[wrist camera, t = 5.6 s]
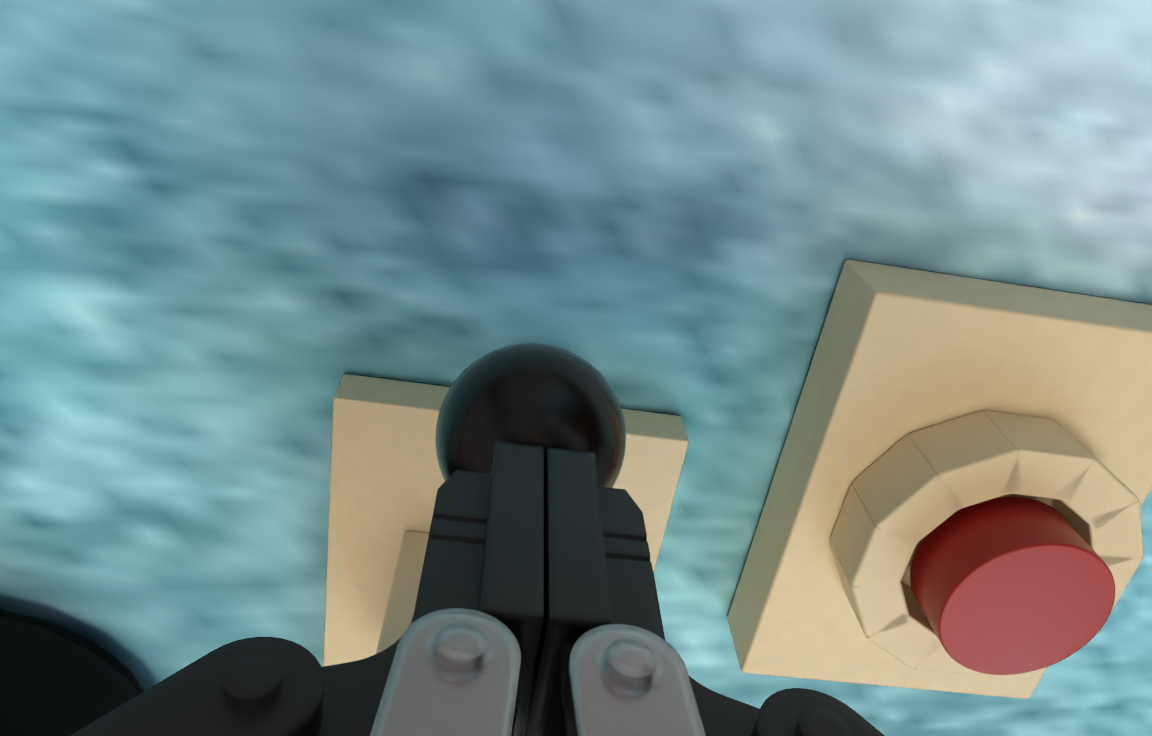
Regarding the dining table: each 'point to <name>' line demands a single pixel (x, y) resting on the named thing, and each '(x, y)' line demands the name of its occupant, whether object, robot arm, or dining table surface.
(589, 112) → the dining table surface
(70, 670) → the coffee jar
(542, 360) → the black lever
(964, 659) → the button
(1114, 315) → the button block
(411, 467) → the lever base
